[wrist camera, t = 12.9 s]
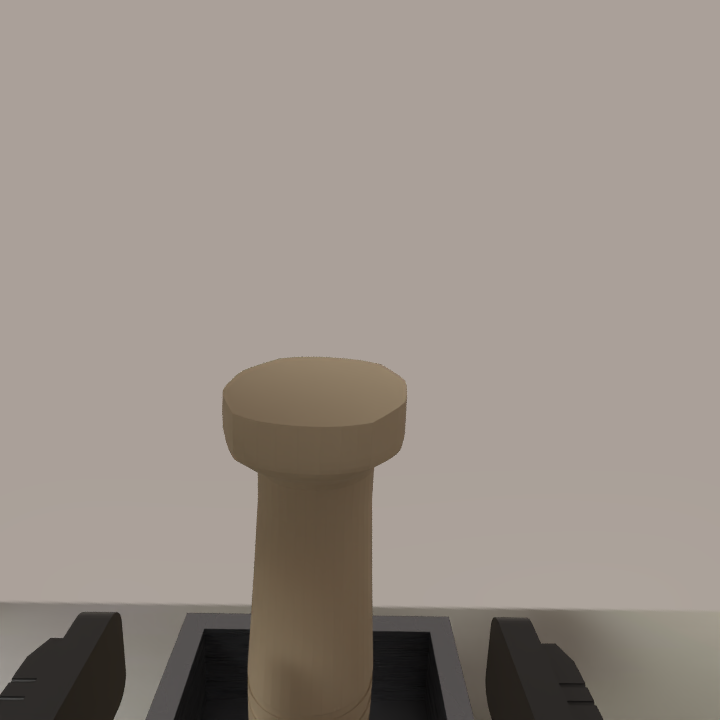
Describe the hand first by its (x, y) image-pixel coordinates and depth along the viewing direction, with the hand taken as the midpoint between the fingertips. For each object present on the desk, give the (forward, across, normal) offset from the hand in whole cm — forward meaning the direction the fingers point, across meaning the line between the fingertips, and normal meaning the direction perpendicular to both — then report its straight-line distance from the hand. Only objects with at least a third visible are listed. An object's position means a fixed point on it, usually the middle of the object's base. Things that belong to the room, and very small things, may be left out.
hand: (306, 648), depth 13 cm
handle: (+5, 0, +11) cm, 12 cm away
